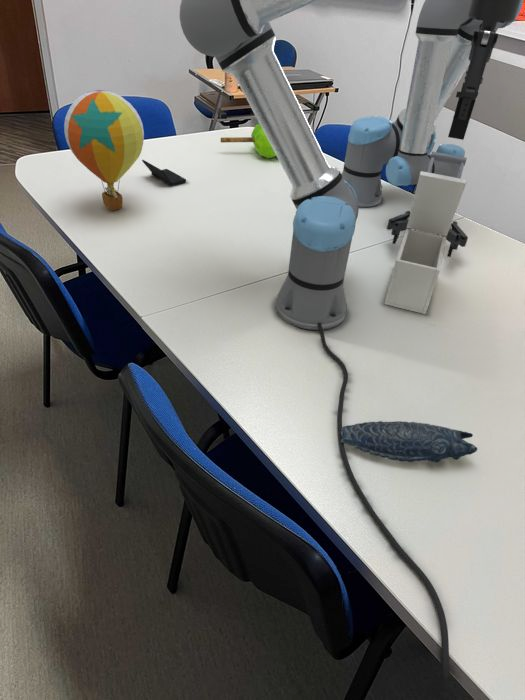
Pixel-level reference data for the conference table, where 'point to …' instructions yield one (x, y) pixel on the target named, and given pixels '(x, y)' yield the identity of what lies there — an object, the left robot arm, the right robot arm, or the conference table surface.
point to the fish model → (407, 440)
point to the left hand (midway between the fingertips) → (457, 128)
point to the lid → (437, 197)
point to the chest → (415, 271)
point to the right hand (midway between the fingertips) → (422, 245)
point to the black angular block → (165, 175)
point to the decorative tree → (256, 142)
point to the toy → (105, 138)
